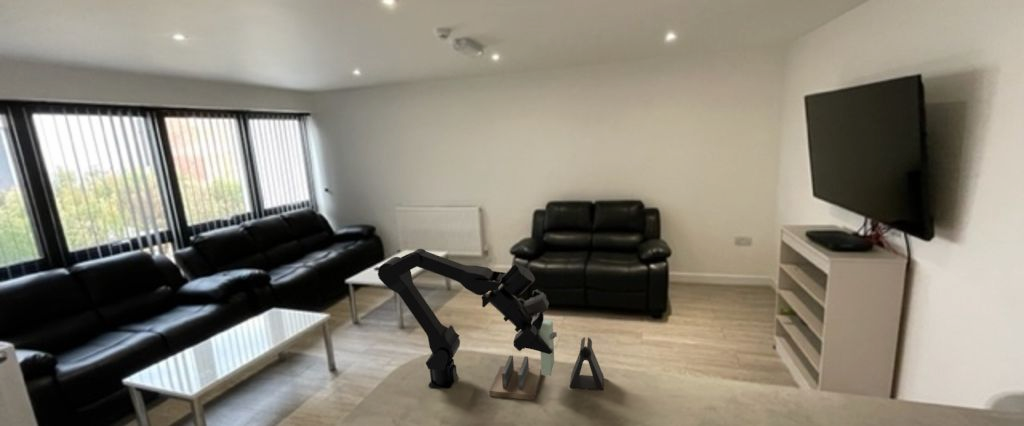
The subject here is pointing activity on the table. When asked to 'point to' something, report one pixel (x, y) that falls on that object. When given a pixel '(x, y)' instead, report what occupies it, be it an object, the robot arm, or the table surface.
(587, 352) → the grey triangular stand
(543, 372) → the door panel
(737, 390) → the table surface
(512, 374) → the hinge base
